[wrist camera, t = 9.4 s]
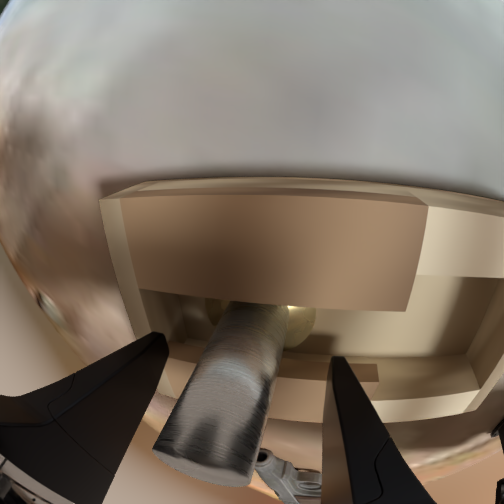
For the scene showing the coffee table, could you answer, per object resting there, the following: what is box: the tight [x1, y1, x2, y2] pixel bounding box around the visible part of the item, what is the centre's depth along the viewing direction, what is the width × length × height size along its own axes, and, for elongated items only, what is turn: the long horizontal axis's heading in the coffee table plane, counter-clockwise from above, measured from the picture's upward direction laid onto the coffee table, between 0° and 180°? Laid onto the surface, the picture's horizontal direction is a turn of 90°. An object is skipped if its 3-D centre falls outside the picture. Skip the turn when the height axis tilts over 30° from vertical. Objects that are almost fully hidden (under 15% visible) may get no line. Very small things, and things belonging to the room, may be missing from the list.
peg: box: [152, 298, 316, 487], centre depth 8 cm, size 4×4×8 cm
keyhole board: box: [99, 177, 504, 423], centre depth 10 cm, size 17×10×3 cm, turn 92°
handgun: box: [255, 449, 322, 504], centre depth 19 cm, size 3×16×12 cm
